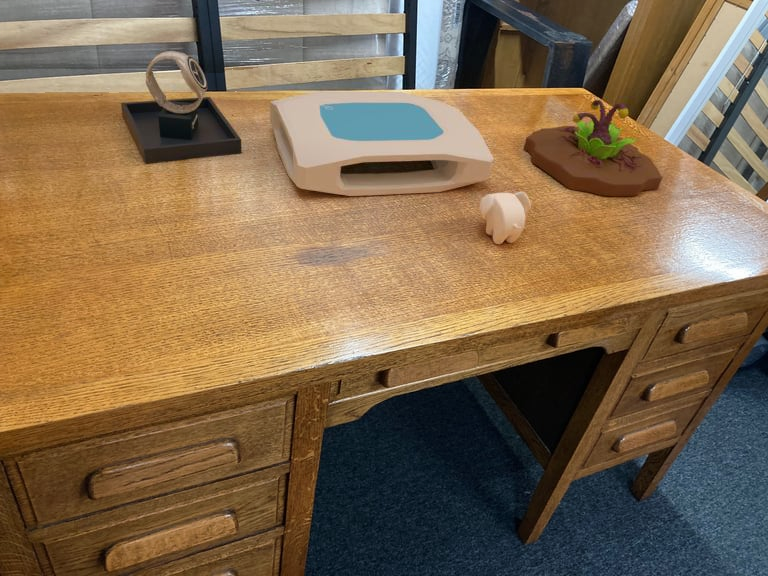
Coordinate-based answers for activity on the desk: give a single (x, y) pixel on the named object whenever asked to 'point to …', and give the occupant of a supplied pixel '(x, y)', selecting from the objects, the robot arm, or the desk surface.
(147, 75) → the watch
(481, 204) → the elephant figurine
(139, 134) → the tray
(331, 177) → the document scanner
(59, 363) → the desk surface
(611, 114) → the plant
